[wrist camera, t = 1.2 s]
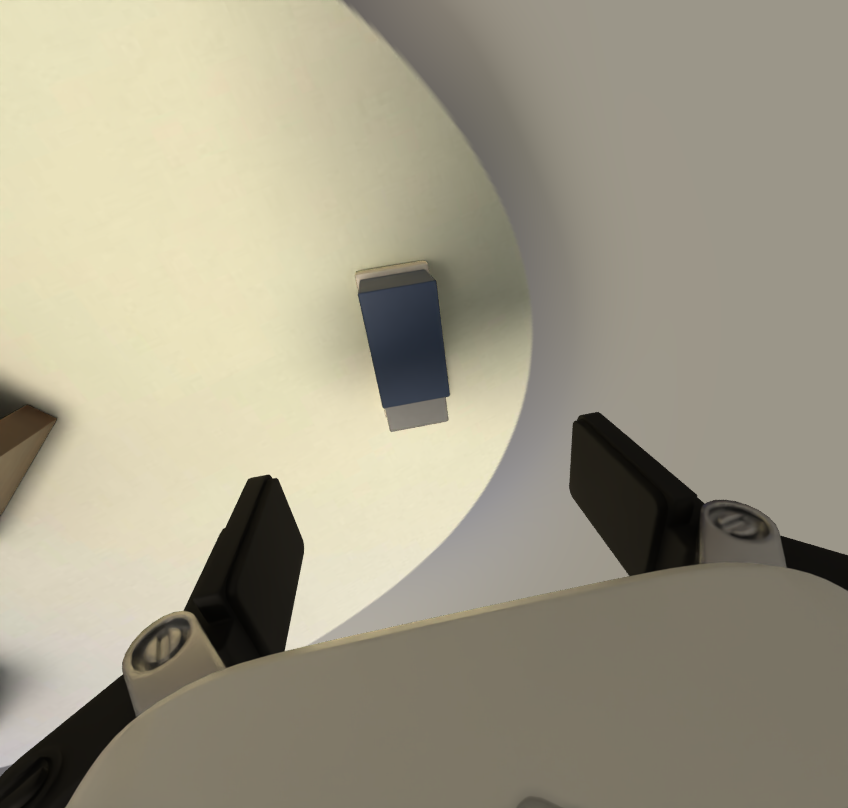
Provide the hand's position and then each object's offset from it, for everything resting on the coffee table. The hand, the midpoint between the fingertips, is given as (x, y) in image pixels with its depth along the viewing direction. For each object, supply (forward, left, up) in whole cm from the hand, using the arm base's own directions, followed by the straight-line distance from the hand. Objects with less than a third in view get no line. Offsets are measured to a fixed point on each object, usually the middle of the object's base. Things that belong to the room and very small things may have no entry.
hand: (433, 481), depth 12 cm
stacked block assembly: (0, 0, -13) cm, 13 cm away
